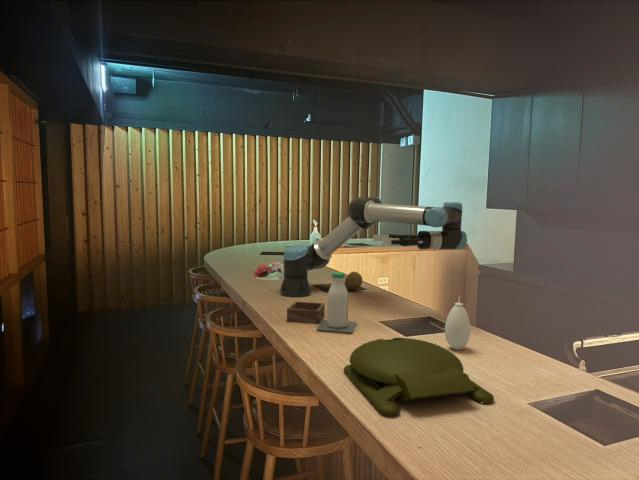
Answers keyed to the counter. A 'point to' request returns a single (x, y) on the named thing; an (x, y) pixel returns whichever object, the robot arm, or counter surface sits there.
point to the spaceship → (409, 373)
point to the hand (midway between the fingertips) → (377, 239)
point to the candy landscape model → (270, 271)
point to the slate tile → (345, 330)
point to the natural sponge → (353, 281)
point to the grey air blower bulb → (457, 327)
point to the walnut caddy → (306, 312)
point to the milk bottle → (337, 302)
